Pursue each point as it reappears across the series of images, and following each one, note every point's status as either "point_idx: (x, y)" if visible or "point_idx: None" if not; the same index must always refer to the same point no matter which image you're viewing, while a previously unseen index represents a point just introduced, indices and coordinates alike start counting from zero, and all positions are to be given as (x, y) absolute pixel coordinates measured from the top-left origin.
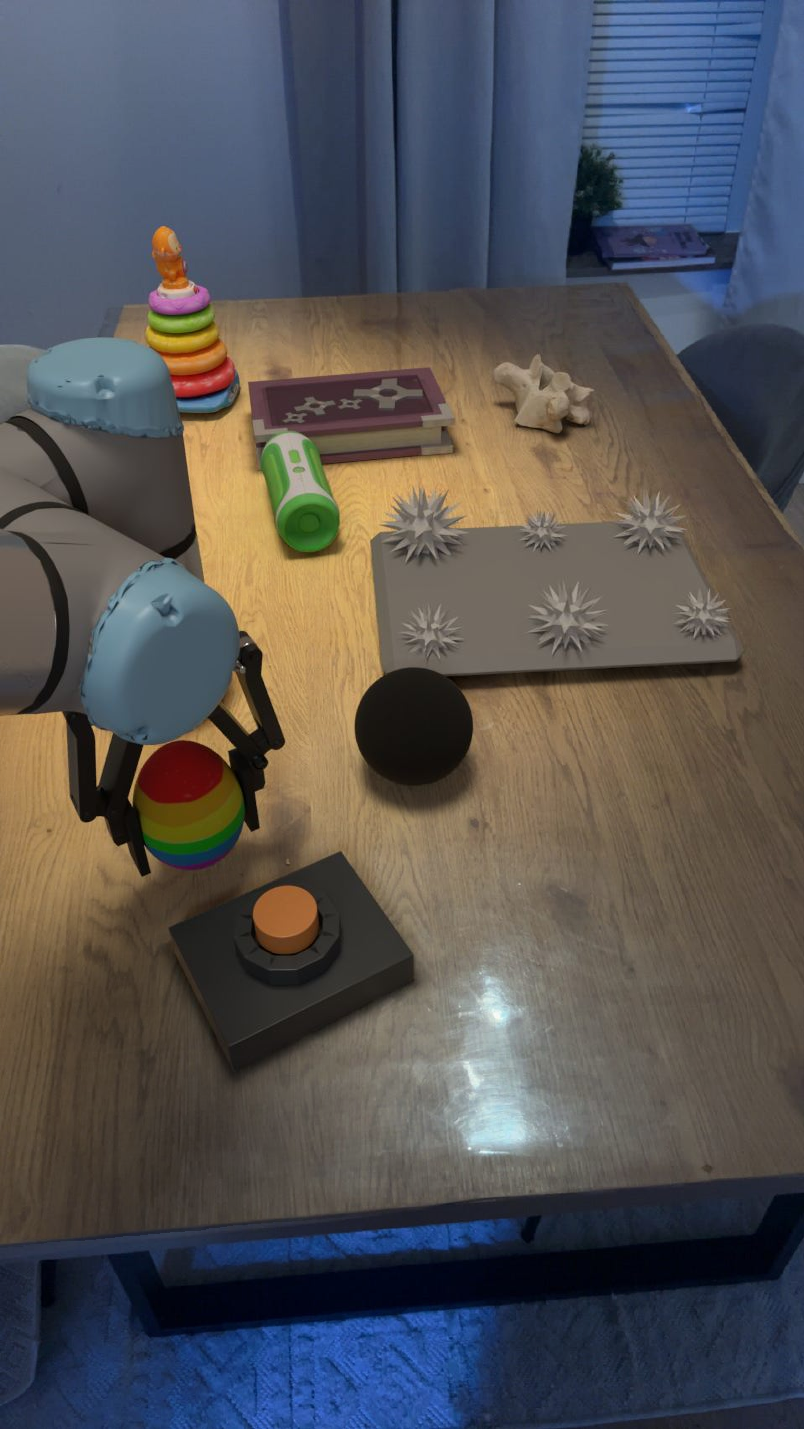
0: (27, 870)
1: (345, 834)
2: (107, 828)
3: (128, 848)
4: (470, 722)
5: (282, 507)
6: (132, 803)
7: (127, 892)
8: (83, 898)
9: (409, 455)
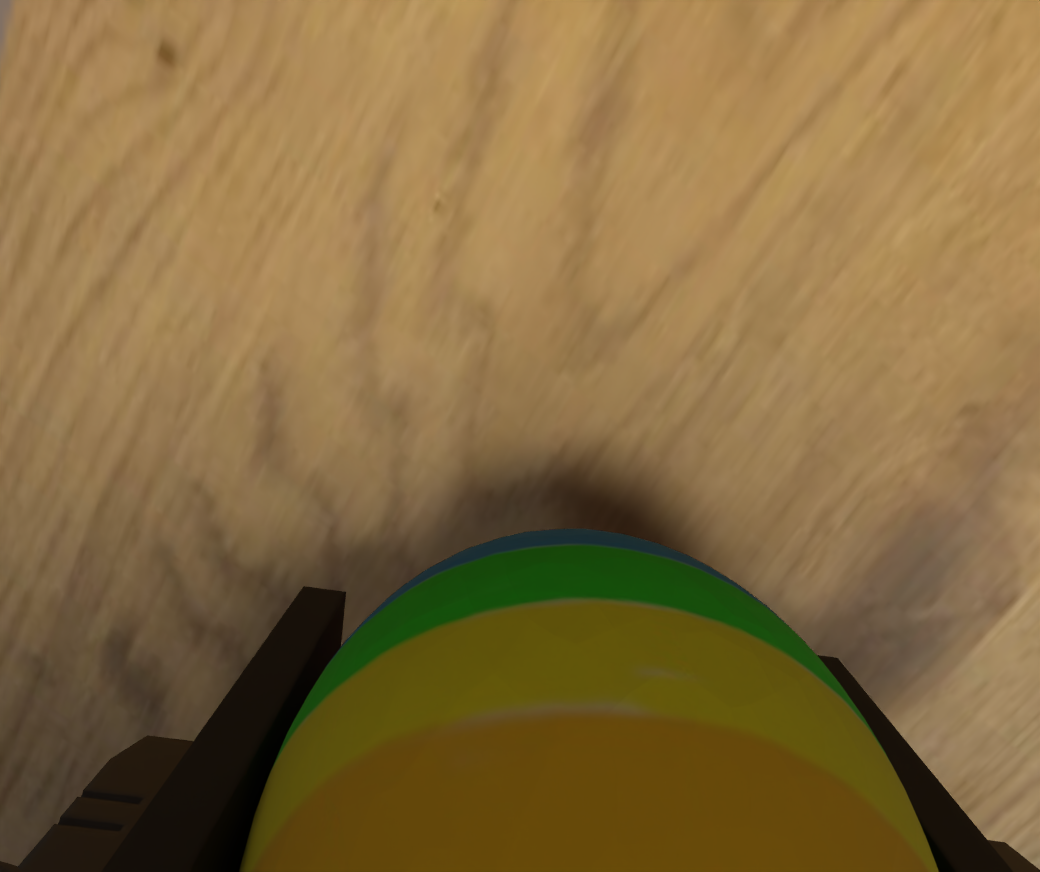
0: (31, 208)
1: (1009, 763)
2: (96, 779)
3: (294, 600)
4: None
5: None
6: (249, 844)
7: (306, 531)
8: (170, 461)
9: None
